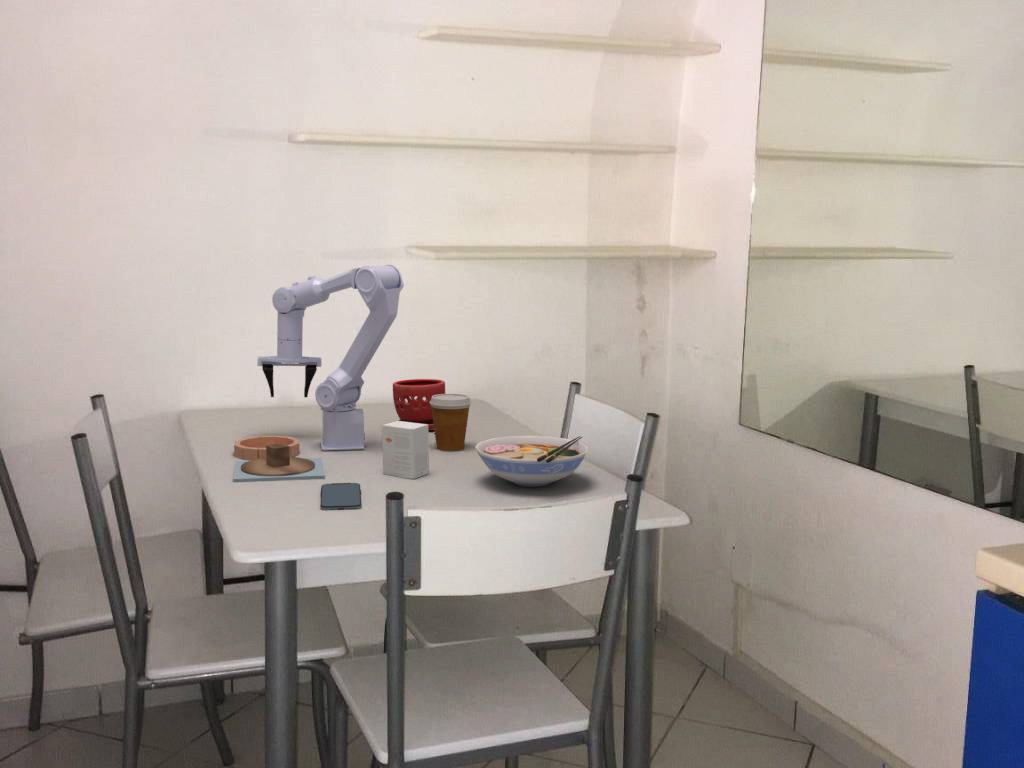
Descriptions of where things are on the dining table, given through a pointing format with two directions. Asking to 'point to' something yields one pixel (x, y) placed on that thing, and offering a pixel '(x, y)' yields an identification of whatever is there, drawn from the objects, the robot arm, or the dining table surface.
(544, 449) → the ramen bowl
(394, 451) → the small box
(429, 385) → the plant pot
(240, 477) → the mat
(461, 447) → the disposable coffee cup
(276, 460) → the lid
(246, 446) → the dish
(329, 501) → the smartphone
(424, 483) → the dining table surface
